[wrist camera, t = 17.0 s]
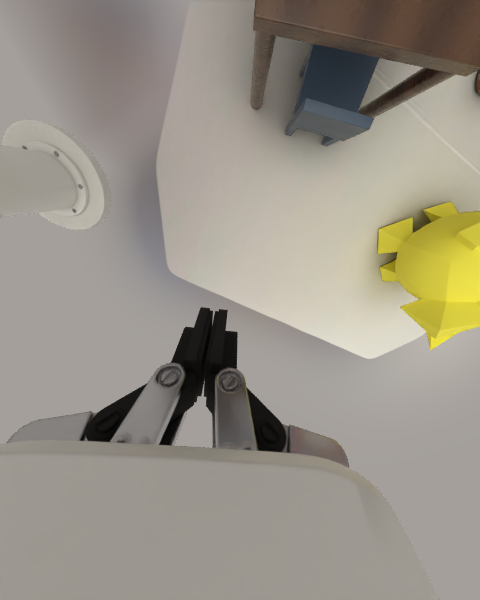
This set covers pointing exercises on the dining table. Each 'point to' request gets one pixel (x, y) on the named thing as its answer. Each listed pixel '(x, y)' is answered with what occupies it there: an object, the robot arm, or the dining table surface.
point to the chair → (333, 94)
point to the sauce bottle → (478, 83)
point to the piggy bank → (437, 269)
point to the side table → (375, 38)
